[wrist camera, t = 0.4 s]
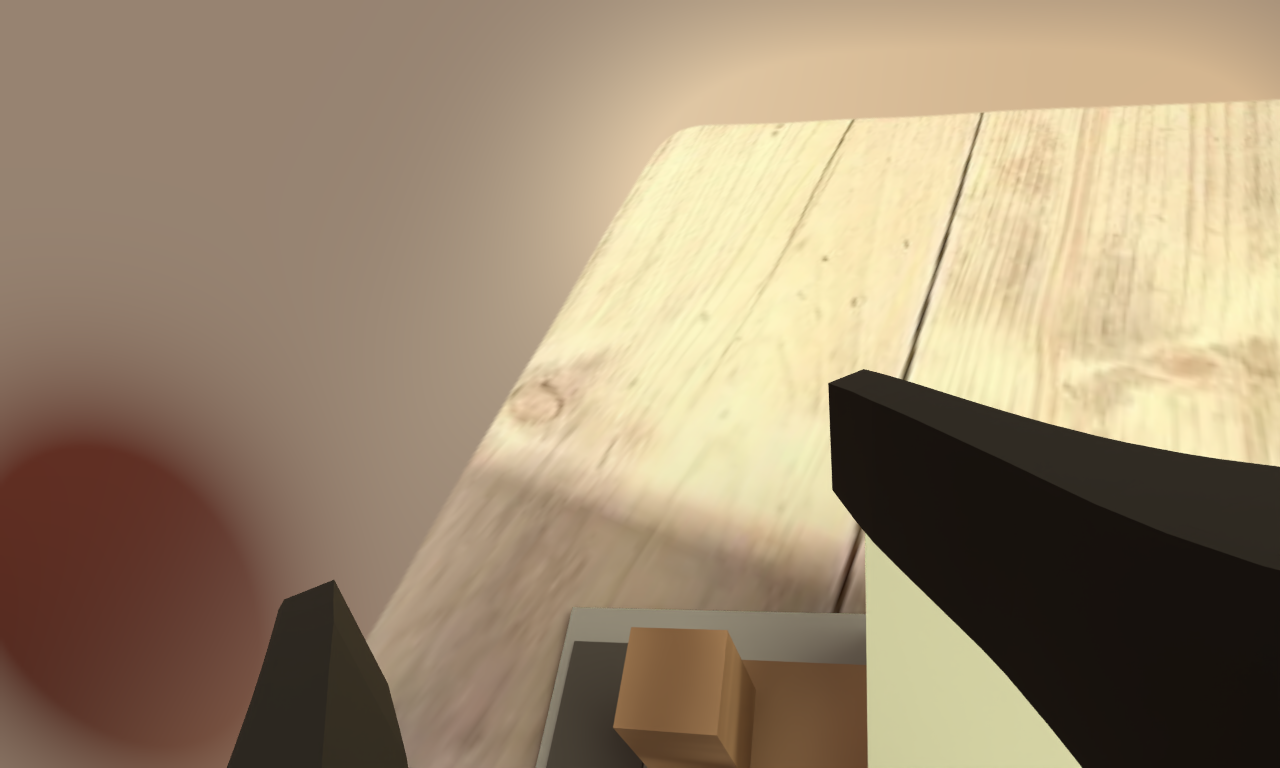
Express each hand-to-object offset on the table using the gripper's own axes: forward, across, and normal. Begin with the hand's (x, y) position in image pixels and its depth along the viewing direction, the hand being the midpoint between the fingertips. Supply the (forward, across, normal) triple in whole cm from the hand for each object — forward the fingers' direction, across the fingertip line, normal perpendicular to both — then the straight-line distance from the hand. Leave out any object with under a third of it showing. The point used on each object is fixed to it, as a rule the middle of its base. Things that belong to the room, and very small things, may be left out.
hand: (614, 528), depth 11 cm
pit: (+10, 0, +19) cm, 21 cm away
